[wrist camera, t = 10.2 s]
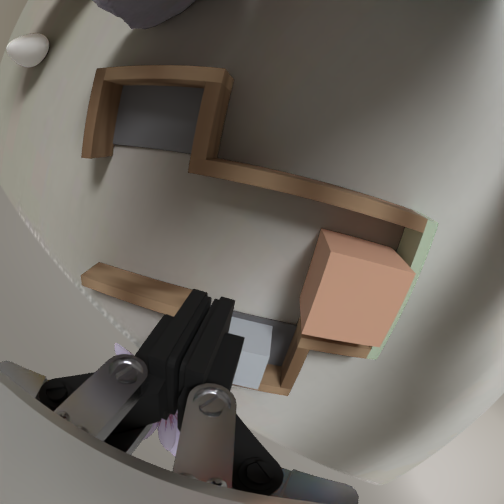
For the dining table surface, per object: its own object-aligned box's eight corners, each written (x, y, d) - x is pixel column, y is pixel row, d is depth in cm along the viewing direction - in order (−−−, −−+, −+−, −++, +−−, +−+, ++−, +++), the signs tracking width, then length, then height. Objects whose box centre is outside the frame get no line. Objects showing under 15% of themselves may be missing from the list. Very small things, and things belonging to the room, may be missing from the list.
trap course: (429, 136, 16) (448, 136, 14) (335, 380, 25) (338, 402, 22) (117, 75, 17) (96, 68, 14) (103, 320, 26) (89, 336, 23)
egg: (37, 74, 17) (0, 71, 12) (30, 56, 16) (-5, 52, 11) (58, 47, 16) (21, 39, 11) (50, 31, 15) (16, 22, 10)
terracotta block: (391, 246, 20) (415, 273, 15) (365, 310, 22) (379, 347, 18) (321, 227, 20) (330, 251, 16) (299, 296, 22) (301, 333, 18)
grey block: (272, 326, 23) (269, 356, 20) (262, 358, 25) (257, 389, 21) (227, 315, 23) (216, 344, 20) (220, 348, 25) (210, 378, 21)
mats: (356, 120, 17) (356, 120, 17) (281, 365, 25) (281, 366, 25) (124, 85, 18) (123, 85, 17) (110, 315, 26) (109, 316, 26)
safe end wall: (420, 213, 19) (438, 223, 16) (368, 338, 23) (376, 359, 20) (410, 209, 19) (427, 219, 16) (359, 336, 23) (365, 358, 20)
